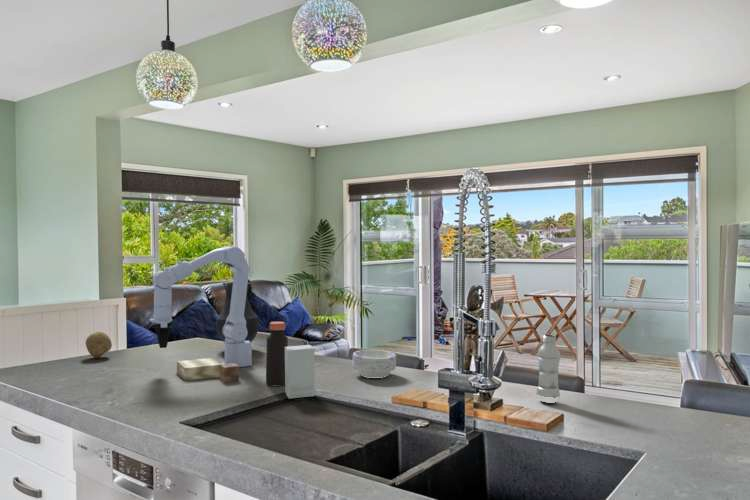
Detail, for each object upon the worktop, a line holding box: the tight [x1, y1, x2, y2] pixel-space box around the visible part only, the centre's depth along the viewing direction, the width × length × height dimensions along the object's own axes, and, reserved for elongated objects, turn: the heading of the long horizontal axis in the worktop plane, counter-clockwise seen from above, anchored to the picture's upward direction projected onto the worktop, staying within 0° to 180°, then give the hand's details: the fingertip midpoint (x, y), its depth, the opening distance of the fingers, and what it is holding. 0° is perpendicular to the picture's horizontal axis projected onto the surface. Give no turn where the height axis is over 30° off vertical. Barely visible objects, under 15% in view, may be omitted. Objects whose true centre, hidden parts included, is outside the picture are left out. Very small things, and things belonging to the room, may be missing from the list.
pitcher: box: [215, 278, 260, 344], centre depth 241 cm, size 17×21×30 cm
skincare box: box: [284, 344, 316, 400], centre depth 172 cm, size 8×6×15 cm
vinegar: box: [265, 321, 289, 386], centre depth 185 cm, size 7×7×20 cm
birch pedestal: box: [176, 357, 221, 381], centre depth 196 cm, size 12×12×4 cm
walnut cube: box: [219, 363, 240, 383], centre depth 189 cm, size 5×5×5 cm
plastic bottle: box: [536, 334, 561, 398], centre depth 169 cm, size 6×7×20 cm
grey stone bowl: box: [352, 349, 397, 377], centre depth 199 cm, size 15×15×8 cm
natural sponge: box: [85, 331, 113, 359], centre depth 220 cm, size 9×9×10 cm
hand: (162, 345), depth 195 cm, fingers open, 7 cm apart
